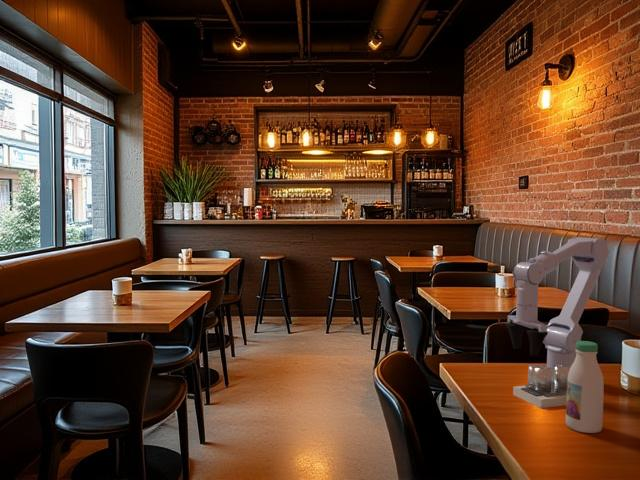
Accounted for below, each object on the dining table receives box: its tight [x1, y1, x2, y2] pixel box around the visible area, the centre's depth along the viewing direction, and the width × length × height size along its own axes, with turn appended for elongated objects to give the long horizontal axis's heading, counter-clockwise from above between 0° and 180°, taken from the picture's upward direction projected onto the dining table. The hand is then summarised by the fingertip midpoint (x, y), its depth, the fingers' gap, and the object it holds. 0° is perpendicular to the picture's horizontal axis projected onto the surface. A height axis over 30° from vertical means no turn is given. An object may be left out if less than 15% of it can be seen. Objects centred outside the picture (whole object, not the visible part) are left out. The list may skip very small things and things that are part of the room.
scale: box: [512, 384, 567, 409], centre depth 152 cm, size 14×11×2 cm
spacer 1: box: [527, 364, 542, 385], centre depth 163 cm, size 4×4×6 cm
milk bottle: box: [565, 340, 605, 434], centre depth 132 cm, size 8×8×20 cm
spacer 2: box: [533, 365, 552, 391], centre depth 151 cm, size 4×4×6 cm
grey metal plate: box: [525, 381, 567, 396], centre depth 152 cm, size 11×8×1 cm
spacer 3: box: [553, 364, 571, 389], centre depth 153 cm, size 4×4×6 cm
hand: (525, 351), depth 162 cm, fingers open, 7 cm apart
